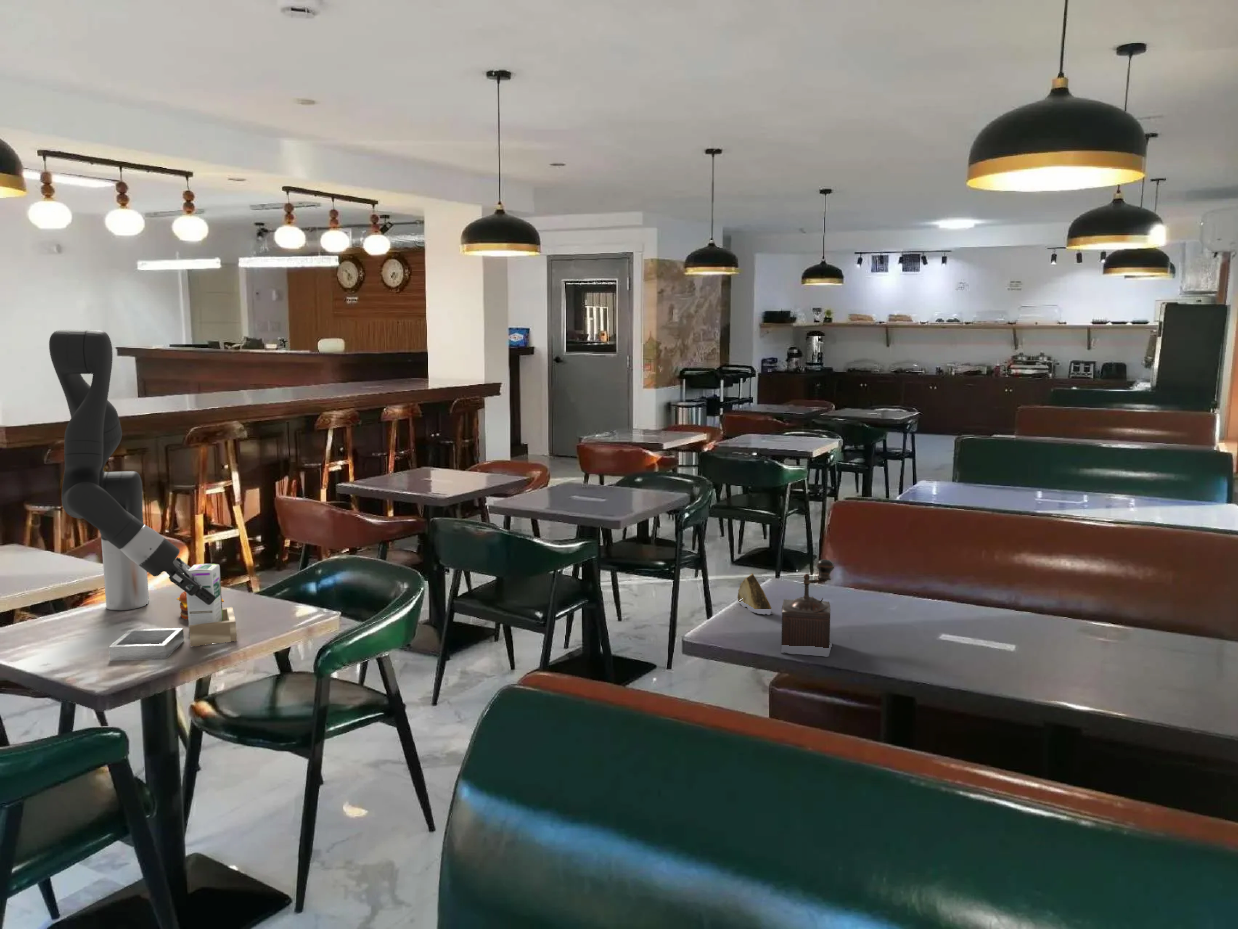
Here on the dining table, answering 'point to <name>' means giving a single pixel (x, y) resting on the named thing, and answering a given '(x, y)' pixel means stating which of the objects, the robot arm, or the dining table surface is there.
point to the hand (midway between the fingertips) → (211, 596)
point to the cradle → (214, 630)
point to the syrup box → (210, 581)
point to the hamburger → (184, 605)
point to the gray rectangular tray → (146, 644)
